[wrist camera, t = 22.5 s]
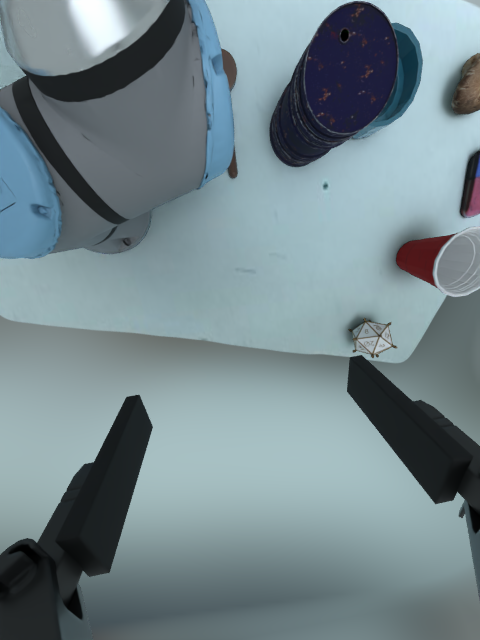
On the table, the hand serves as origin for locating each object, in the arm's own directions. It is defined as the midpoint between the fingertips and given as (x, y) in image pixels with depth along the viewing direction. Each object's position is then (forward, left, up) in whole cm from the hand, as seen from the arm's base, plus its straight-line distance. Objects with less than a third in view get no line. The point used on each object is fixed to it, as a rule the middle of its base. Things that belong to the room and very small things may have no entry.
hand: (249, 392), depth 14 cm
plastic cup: (+36, +12, -33) cm, 50 cm away
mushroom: (+32, +37, -33) cm, 59 cm away
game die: (+33, -6, -33) cm, 47 cm away
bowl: (+15, +32, -33) cm, 48 cm away
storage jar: (+7, +25, -33) cm, 42 cm away
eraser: (+42, +26, -33) cm, 59 cm away
